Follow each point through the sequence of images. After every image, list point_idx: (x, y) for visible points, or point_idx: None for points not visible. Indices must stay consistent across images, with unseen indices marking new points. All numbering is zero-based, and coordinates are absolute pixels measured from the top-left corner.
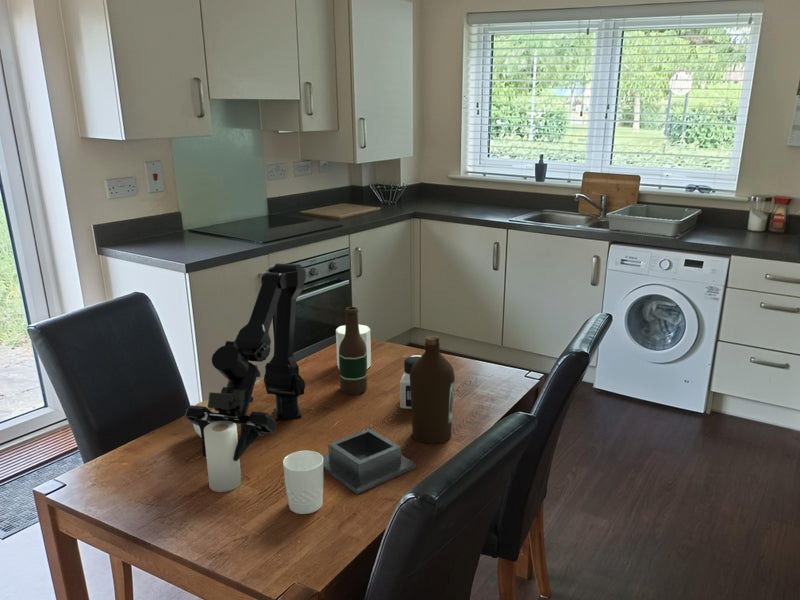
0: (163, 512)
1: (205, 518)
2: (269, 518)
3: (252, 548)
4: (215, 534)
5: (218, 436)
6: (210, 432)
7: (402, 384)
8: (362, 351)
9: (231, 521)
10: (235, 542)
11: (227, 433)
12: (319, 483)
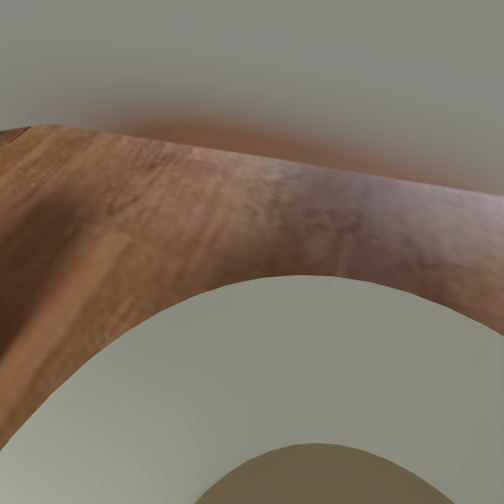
0: (362, 243)
1: (236, 246)
2: (59, 282)
3: (91, 187)
4: (185, 204)
5: (204, 300)
6: (404, 365)
7: None
8: None
9: (163, 250)
10: (132, 194)
11: (49, 403)
12: None
